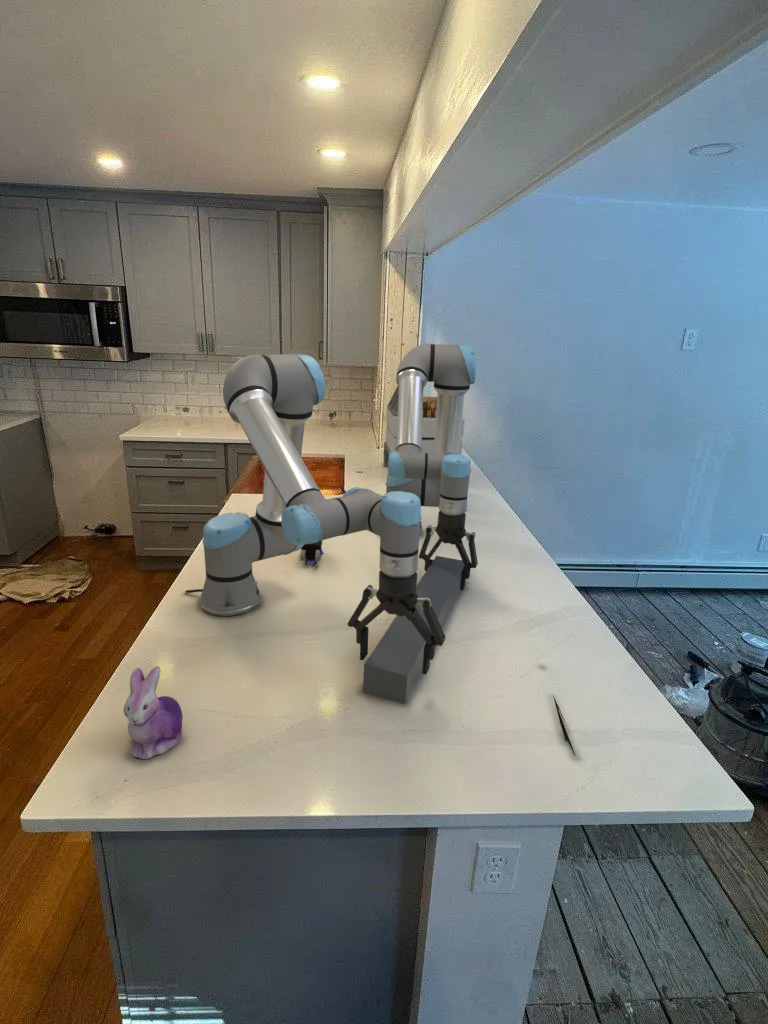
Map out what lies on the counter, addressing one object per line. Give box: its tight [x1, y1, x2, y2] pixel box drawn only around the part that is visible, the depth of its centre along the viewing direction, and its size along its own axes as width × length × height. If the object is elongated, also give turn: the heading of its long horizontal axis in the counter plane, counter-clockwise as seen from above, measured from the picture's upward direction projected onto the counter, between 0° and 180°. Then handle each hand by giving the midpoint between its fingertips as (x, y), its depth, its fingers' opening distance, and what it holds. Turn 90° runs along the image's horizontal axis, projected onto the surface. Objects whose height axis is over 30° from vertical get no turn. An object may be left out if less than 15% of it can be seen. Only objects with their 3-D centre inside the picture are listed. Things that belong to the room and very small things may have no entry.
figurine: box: [122, 665, 183, 760], centre depth 99 cm, size 9×10×15 cm
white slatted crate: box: [383, 385, 465, 468], centre depth 268 cm, size 34×33×41 cm
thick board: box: [362, 555, 464, 705], centre depth 141 cm, size 59×9×7 cm, turn 161°
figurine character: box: [299, 540, 324, 567], centre depth 176 cm, size 7×8×15 cm
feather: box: [552, 695, 579, 756], centre depth 115 cm, size 2×28×2 cm
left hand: (394, 663), depth 118 cm, fingers open, 13 cm apart
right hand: (445, 584), depth 163 cm, fingers closed on thick board, 9 cm apart
